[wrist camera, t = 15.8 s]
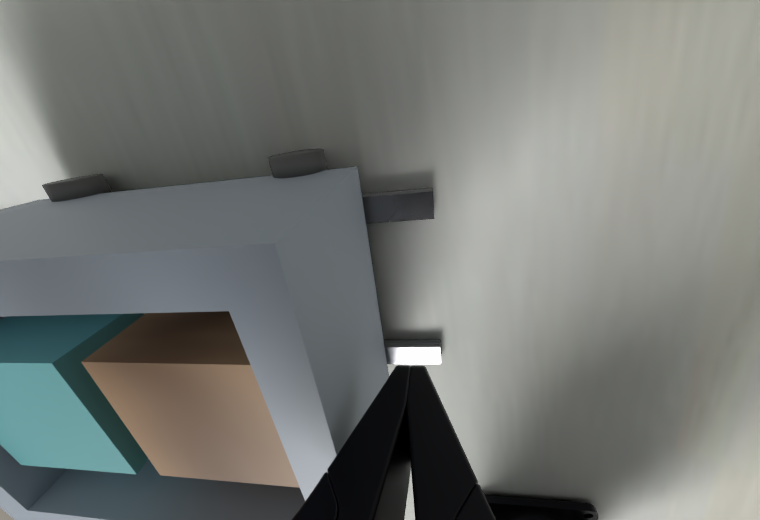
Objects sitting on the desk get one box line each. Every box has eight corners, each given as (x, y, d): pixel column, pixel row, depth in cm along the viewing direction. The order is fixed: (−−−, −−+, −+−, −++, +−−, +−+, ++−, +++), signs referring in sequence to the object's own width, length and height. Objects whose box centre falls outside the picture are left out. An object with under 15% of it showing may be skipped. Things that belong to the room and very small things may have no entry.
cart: (360, 143, 11) (263, 204, 4) (394, 386, 16) (372, 578, 9) (56, 179, 13) (-296, 253, 7) (170, 381, 18) (31, 534, 12)
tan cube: (319, 266, 11) (255, 365, 7) (342, 365, 13) (302, 487, 9) (202, 271, 11) (80, 361, 7) (239, 364, 13) (160, 475, 9)
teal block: (180, 273, 12) (52, 363, 8) (222, 364, 14) (136, 474, 10) (81, 278, 12) (-83, 361, 8) (134, 363, 14) (20, 464, 10)
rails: (432, 187, 11) (432, 191, 11) (440, 356, 15) (441, 364, 14) (-45, 230, 15) (-59, 233, 15) (50, 355, 19) (41, 361, 18)
